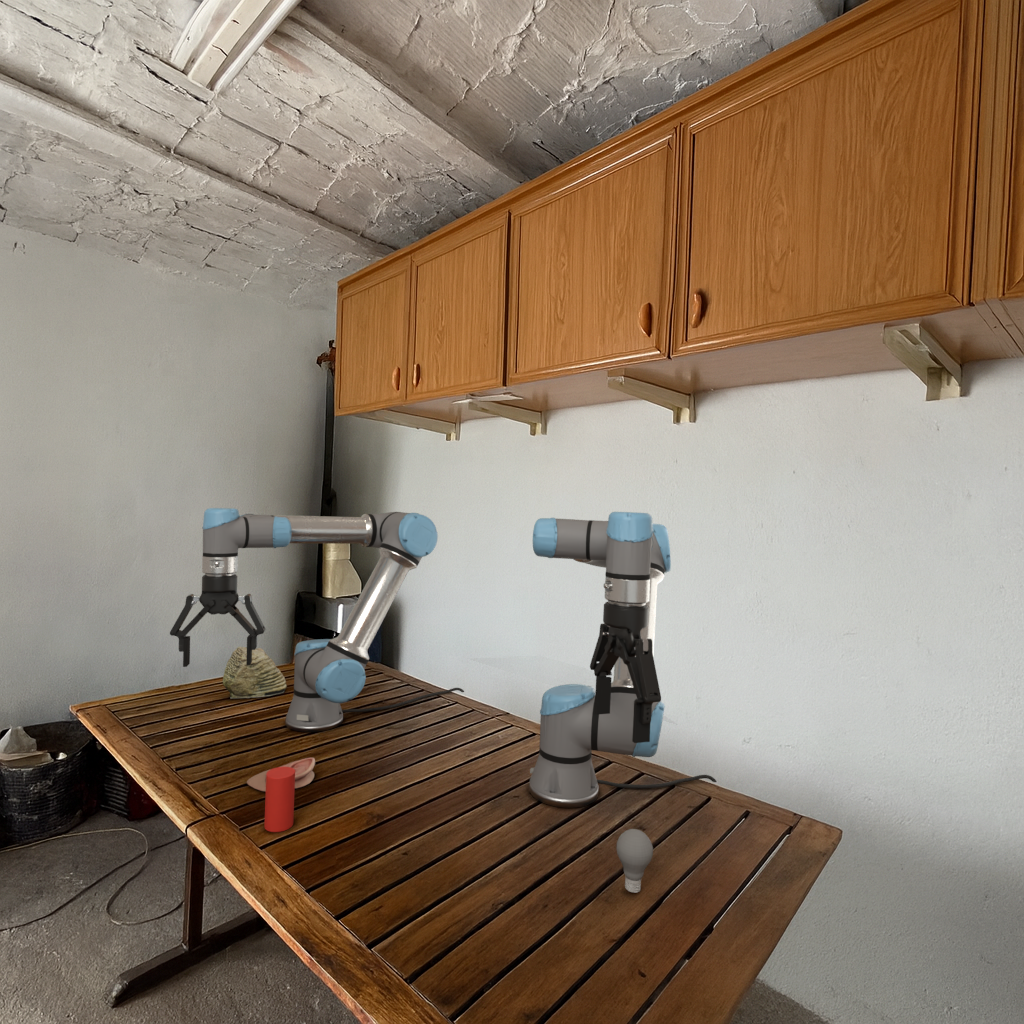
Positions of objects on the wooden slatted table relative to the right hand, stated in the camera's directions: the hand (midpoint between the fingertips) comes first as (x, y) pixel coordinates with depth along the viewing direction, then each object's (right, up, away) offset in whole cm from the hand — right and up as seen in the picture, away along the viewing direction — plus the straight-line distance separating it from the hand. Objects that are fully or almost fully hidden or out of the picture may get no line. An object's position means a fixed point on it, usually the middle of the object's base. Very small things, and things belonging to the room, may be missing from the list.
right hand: (620, 726), depth 108 cm
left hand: (-87, +1, +40) cm, 96 cm away
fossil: (-99, -21, +90) cm, 136 cm away
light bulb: (+2, -27, -2) cm, 27 cm away
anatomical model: (-70, -23, +32) cm, 80 cm away
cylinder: (-63, -24, +14) cm, 69 cm away
